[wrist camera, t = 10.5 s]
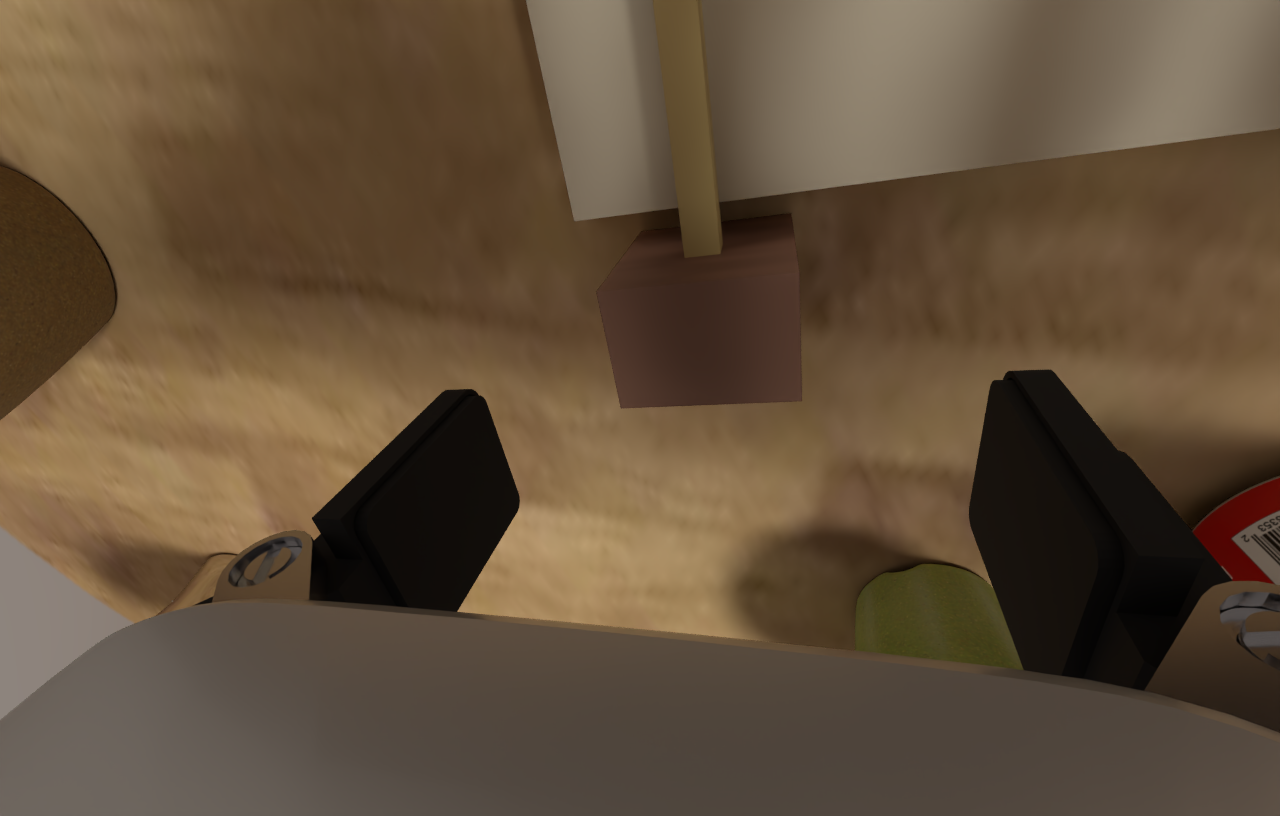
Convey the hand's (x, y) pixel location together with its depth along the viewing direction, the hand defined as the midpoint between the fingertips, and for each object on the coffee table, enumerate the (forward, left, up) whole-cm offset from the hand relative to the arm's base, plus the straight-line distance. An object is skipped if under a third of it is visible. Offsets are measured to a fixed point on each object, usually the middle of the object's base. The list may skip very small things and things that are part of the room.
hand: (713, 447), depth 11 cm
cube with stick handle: (+1, -4, -11) cm, 11 cm away
